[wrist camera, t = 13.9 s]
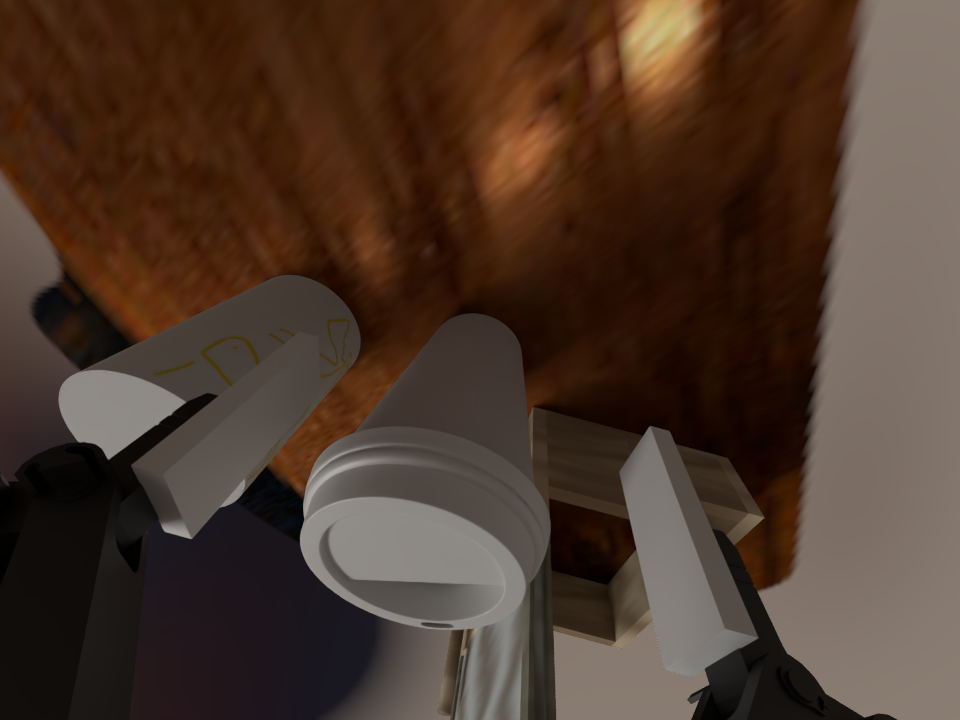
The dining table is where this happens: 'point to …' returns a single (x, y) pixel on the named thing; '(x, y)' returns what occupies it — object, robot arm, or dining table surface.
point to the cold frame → (568, 599)
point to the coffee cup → (435, 489)
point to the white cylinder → (209, 363)
